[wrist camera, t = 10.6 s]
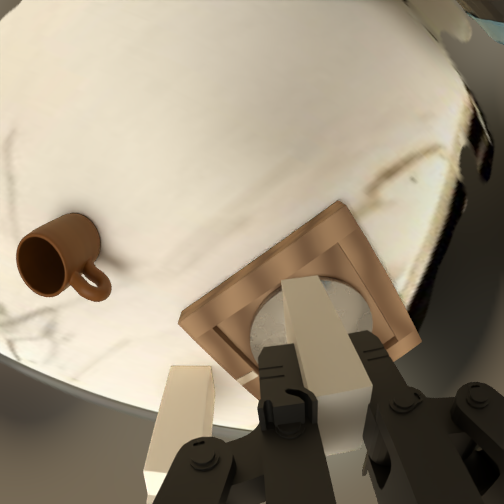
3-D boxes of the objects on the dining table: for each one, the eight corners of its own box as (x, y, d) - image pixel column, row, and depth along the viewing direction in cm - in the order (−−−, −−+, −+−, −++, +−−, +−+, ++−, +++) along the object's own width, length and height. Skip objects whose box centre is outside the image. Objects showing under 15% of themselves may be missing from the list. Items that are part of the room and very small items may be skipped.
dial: (223, 333, 40) (219, 375, 32) (320, 249, 36) (340, 278, 29) (302, 394, 44) (311, 435, 36) (390, 328, 40) (414, 363, 33)
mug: (140, 246, 38) (112, 277, 29) (119, 293, 40) (91, 331, 31) (64, 201, 35) (22, 219, 26) (49, 249, 37) (10, 276, 28)
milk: (171, 365, 44) (135, 492, 23) (211, 365, 44) (195, 499, 23) (178, 394, 46) (152, 515, 25) (216, 394, 46) (205, 520, 25)
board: (338, 200, 36) (346, 205, 33) (413, 330, 43) (422, 342, 40) (181, 311, 41) (177, 324, 38) (284, 410, 47) (286, 424, 44)
